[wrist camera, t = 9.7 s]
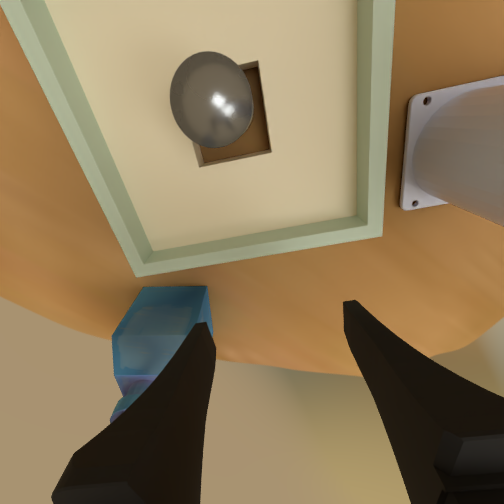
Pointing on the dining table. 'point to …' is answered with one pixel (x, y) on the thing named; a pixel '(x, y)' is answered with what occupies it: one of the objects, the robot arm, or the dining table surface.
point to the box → (189, 153)
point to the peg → (211, 99)
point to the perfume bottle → (154, 336)
